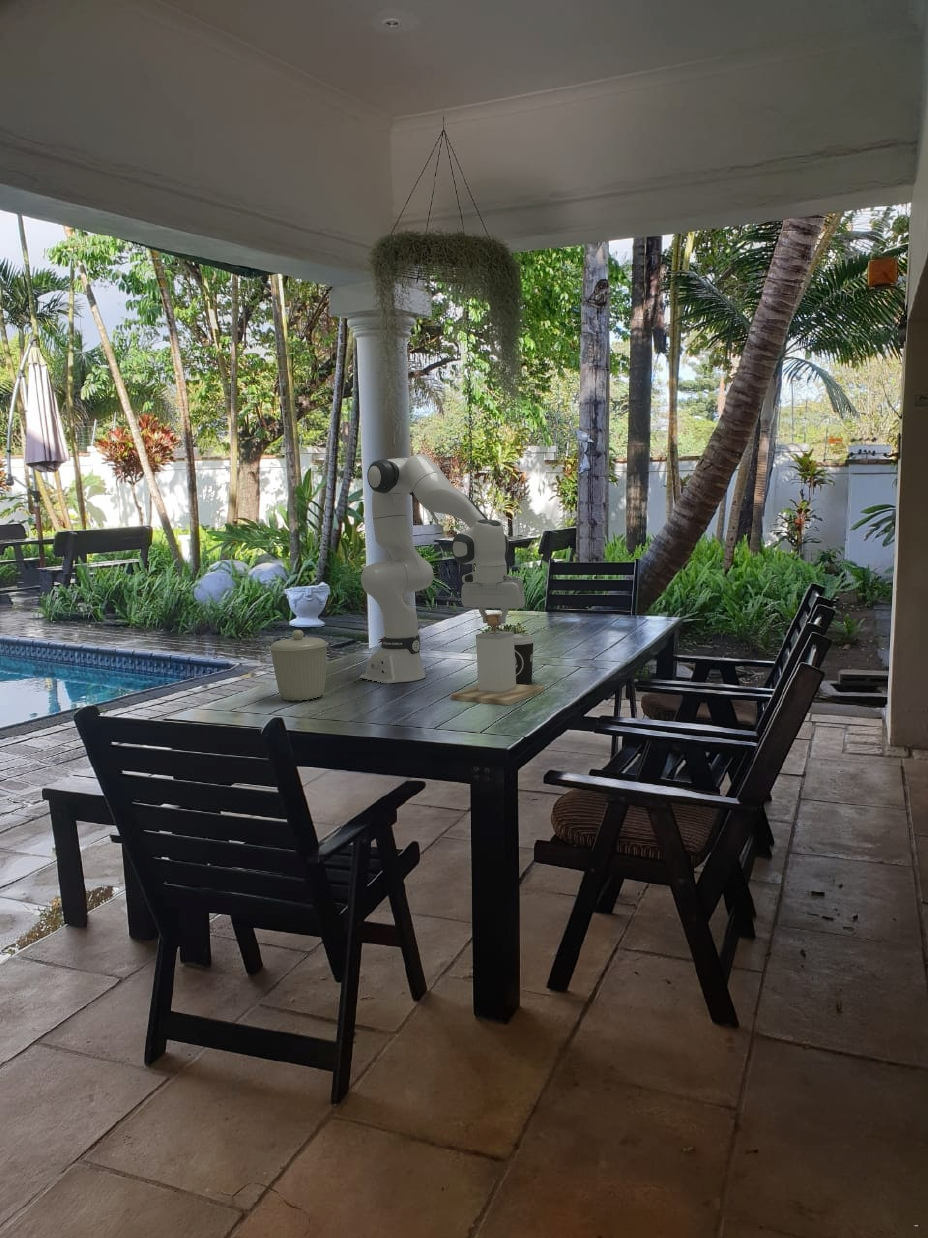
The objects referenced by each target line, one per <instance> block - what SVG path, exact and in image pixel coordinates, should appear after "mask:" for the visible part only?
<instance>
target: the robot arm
mask: <svg viewBox="0 0 928 1238" xmlns="http://www.w3.org/2000/svg"><path fill="white" fill-rule="evenodd" d="M366 474H367V475H366V476H367V477H366V479H367V482H368V485H369V487H370V488H371V490H373V491H372V495H371V496H372V497H371V499H372V501H371V508H372V509H371V511H372V521H373V529H374V537H375V542H376V544H377V546H379V547H380V548H381V549H383V550H386V552H388V553H389V555H390V557H391V560H386V561H378V562H375V563H372V564H368V565H366V566H365V567H364V568H363V570H362V572H361V575H360V583H361V587H362V589H363V590H364V592H365V593H366V594H368V595H369V596H370V597H372V599H374V600H375V602H376V603H377V605H378V607H379V609H380V612H381V614H382V621H383V623H382V624H383V634H384V636H383V637H382V638H379V639H378V643H379V644H380V643H381V645H380V648H379V649H377V651H376V652H375V653H374V654H373V655H372V656H370V658H368V659H367V661H366V665H365V666H366V668H365V670H366V671H365V673H362V674H360V675H359V679H360V678H365V679H368V680H372V681H371V682H374V681H377V682H376V683H380V682H381V683H382V684H392V683H393V684H394V683H406V682H414V681H420V680H422V679H424V678H426V677H427V675H426V672H425V670H424V667H423V663H422V662H423V661H422V657H421V650H420V649H421V638H420V636H421V635H420V634H419V625H418V622H419V621H418V613H417V611H416V610H415V608H414V607H412V606H411V605H408V604H406V603H405V601H404V599H403V594H407V593H416V592H420V591H422V590H425V589H427V588H429V587H430V586H431V585H432V583H433V581H434V569H433V567H432V565H431V563H430V562H429V561H428V560H426V558H424V557H422V555H421V554H420V553H419V552H418V551H417V549H416V547H415V545H414V543H413V541H412V538H411V533H410V528H409V522H408V514H407V507H406V499H407V497H408V496H409V495H411V497H414V496H415V498H416V499H417V502H418V503H419V504H421V506H422V507H424V508H425V509H426V510H427V511H429V512H431V513H438V514H444V515H448V516H451V517H454V518H457V519H460V520H461V521H462V522H464V523H465V525H466V526H467V527H468V529H467V530H464V531H461V532H458V533H457V534H456V535H455V536H454V537H453V539H452V541H451V555H452V557H453V559H454V560H456V562H457V563H459V564H460V565H461V564H463V565H472V564H473V565H474V564H475V565H476V566H475V571H471V572H468V573H467V574H463V575H462V576H461V582H462V583H463V584H462V586H461V590H460V591H461V596H460V597H461V598H460V599H461V605H462V606H463V608H477V609H478V612H479V614H480V616H481V618H482V623H483V624H487V615H488V614H487V610H488V609H500V613H501V617H499V618H498V623H499V624H501V625H503V624H504V625H505V624H506V622H507V621H506V620H507V619H506V618H507V615H508V613H509V612H510V611H509V609H514V610H515V609H516V610H517V609H523V608H524V607H525V605H526V595H525V590H524V581H523V580H522V578H521V577H519V576H517V575H512V576H511V575H508V571H507V567H508V566H507V565H508V564H507V562H506V556H507V554H508V551H509V539H508V538H507V537H508V536H506V534H505V531H504V526H503V524H502V523H501V522H500V521H498V520H495V519H488V517H487V516H486V515H485V514H484V513H483V511H482V510H481V509H480V508H479V507H478V506H477V505H476V503H474V501H472V499H471V498H470V497H469V496H467V495H466V494H465V493H463V492H462V491H460V490H459V488H457V487H456V486H455V485H454V484H452V483H451V482H450V480H449V479H448V478H447V477H446V475H445V474H444V472H443V471H442V470H441V468H440V467H439V466H438V465H437V463H435V462H434V460H432V458H430V457H429V456H428V455H426V454H423V453H416V454H413V455H411V456H410V457H397V458H396V457H395V458H388V459H387V458H383V459H377V460H375V461H373V462H372V463H370V465H369V467H368V470H367V473H366ZM368 680H367V681H368Z"/></svg>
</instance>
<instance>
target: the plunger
mask: <svg viewBox="0 0 928 1238" xmlns="http://www.w3.org/2000/svg"><path fill="white" fill-rule="evenodd" d="M501 615H502V613H501V614H500V613H491V614H487V623H486V624H487V626H488V627H492V631H493V634H496V631H497V627H498V626H501V625H502V624H499V623H498V618H499V617H501Z"/></svg>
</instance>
